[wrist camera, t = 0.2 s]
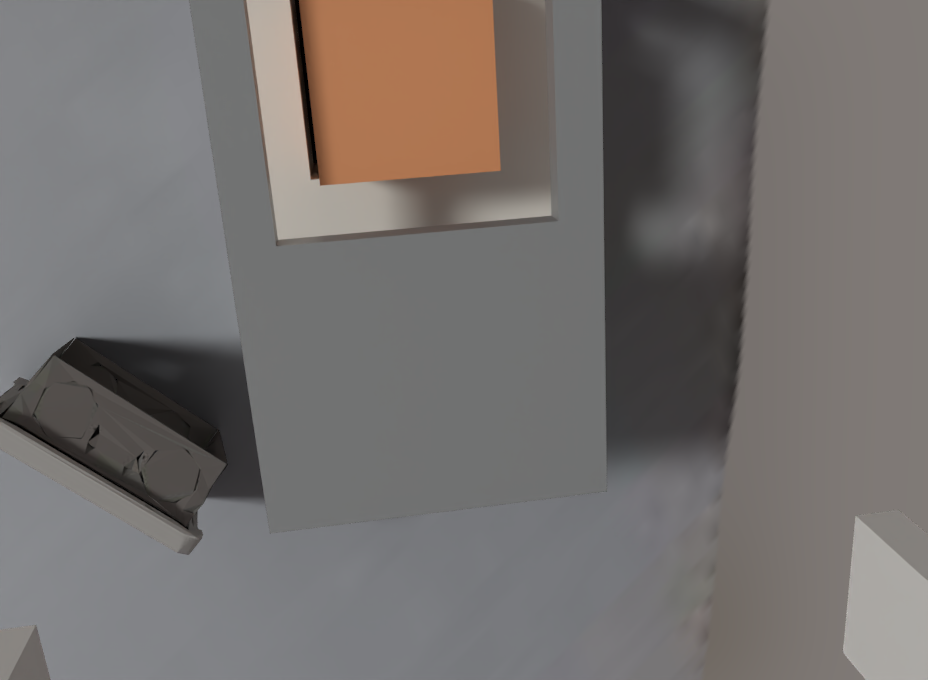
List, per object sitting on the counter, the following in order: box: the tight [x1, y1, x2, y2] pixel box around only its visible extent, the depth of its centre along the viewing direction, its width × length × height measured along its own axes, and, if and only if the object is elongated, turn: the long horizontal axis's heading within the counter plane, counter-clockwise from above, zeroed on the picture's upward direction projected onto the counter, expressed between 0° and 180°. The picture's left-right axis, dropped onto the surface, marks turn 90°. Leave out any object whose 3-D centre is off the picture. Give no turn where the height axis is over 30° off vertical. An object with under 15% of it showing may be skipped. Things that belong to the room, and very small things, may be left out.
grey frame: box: [189, 0, 607, 533], centre depth 34 cm, size 20×12×12 cm, turn 4°
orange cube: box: [299, 0, 501, 186], centre depth 31 cm, size 6×6×6 cm
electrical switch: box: [0, 338, 228, 555], centre depth 37 cm, size 9×5×9 cm, turn 50°
